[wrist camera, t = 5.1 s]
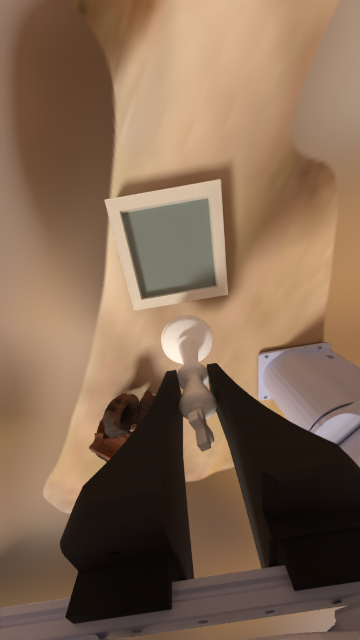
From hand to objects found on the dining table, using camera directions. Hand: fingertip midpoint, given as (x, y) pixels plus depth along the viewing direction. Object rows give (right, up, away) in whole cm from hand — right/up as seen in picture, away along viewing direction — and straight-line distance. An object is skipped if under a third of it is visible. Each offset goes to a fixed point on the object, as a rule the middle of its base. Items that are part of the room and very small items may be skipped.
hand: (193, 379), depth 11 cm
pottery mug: (-8, -9, +15) cm, 19 cm away
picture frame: (-2, +11, +7) cm, 13 cm away
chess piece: (0, +2, +6) cm, 6 cm away
